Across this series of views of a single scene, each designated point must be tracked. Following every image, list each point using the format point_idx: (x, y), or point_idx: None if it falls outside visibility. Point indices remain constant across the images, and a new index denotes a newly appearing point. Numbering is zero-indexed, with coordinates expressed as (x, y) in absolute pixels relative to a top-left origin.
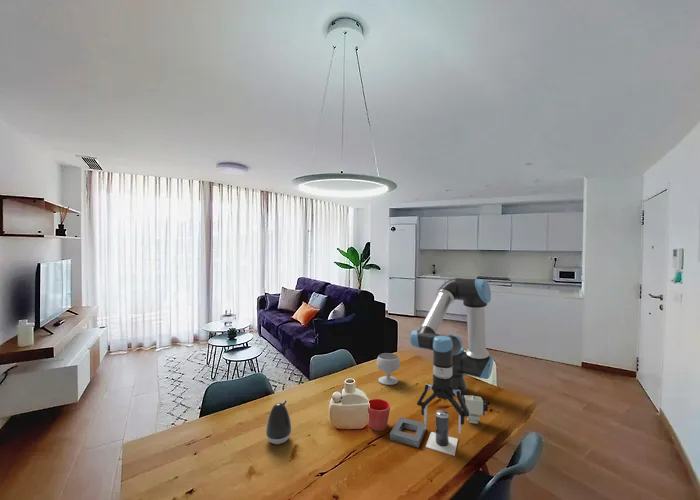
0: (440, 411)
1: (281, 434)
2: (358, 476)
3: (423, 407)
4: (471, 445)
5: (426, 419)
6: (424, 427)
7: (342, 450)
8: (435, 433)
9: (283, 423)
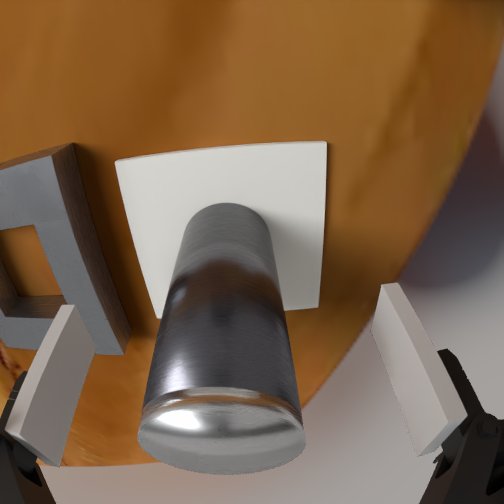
0: (184, 439)
1: None
2: (94, 444)
3: (37, 468)
4: (410, 164)
5: (75, 348)
6: (66, 214)
7: (2, 398)
8: (149, 165)
9: None
